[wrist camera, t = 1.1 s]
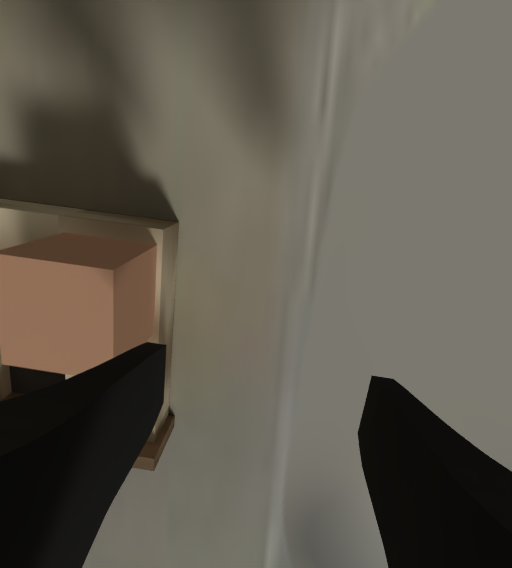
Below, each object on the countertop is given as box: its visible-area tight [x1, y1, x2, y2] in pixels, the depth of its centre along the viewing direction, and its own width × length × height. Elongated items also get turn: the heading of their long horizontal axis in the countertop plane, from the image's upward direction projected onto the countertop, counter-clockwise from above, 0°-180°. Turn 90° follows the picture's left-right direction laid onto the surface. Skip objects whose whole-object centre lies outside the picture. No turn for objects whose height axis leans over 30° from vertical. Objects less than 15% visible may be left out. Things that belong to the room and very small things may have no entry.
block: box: [0, 232, 157, 376], centre depth 16 cm, size 4×4×4 cm
